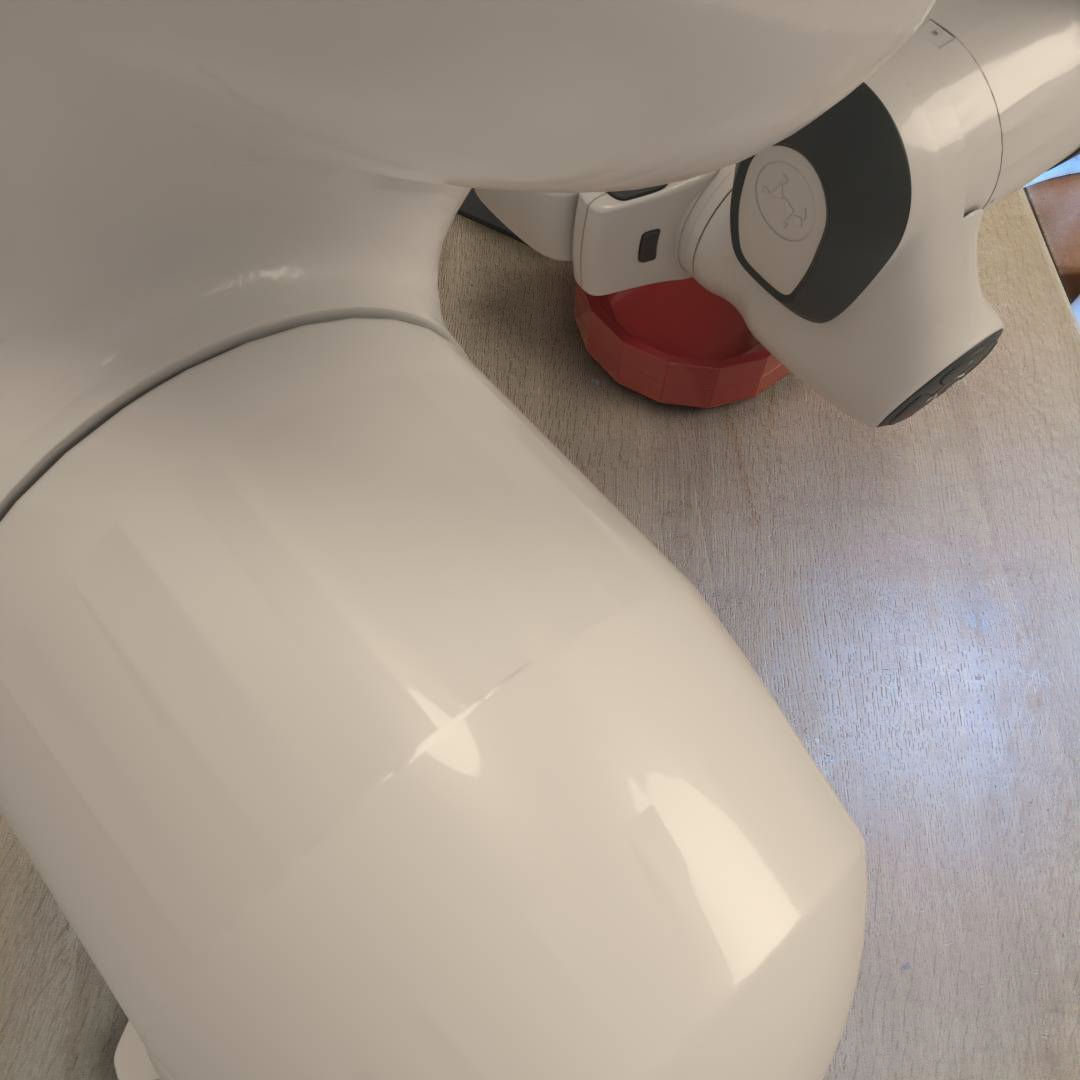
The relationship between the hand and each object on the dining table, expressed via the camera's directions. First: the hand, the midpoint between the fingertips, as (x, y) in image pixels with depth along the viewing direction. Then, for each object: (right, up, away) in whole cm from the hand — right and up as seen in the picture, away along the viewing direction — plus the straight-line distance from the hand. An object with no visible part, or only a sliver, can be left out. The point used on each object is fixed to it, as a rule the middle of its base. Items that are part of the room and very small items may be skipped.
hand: (561, 36), depth 59 cm
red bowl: (+8, -15, +5) cm, 18 cm away
